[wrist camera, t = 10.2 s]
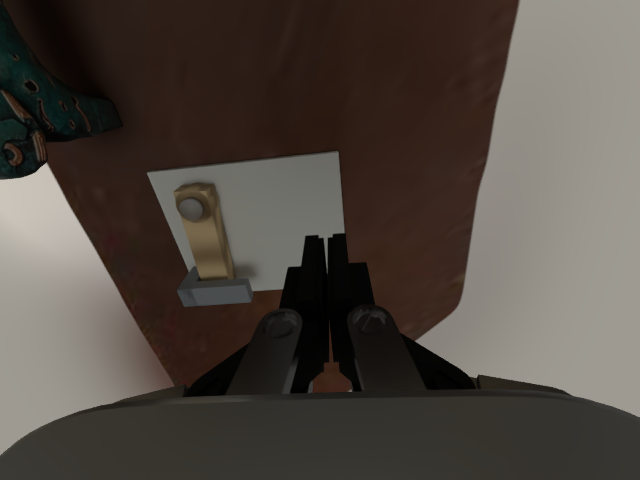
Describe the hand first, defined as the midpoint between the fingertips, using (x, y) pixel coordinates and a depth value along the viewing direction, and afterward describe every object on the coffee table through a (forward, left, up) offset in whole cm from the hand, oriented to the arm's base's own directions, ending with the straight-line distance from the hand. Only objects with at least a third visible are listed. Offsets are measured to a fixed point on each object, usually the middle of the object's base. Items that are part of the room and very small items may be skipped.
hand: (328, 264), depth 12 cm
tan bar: (+11, -17, -24) cm, 32 cm away
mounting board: (+11, -11, -25) cm, 29 cm away
